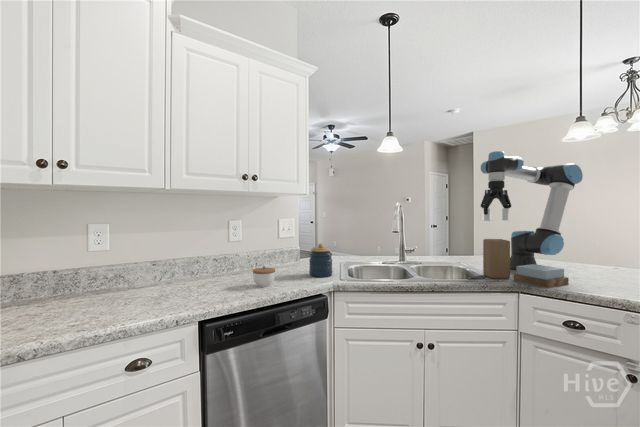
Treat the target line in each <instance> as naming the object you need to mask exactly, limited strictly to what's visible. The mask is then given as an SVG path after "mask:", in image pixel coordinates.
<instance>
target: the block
mask: <svg viewBox="0 0 640 427" xmlns="http://www.w3.org/2000/svg"><path fill="white" fill-rule="evenodd" d="M482 242H483V243H482V244H483V248H482V250H483V252H482V255H483V256H482V257H483V259H482V260H483V261H482V262H483V263H482V264H483V265H482V267H483V268H482V273H483V275H484V276H486V277H487V278H490V279H499V280H500V279H505V280H506V279H508V280H509V279H510V278H511V268H510V257H511V240H508V239H503V238H484V239H483V240H482Z"/></svg>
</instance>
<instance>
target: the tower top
mask: <svg viewBox="0 0 640 427" xmlns="http://www.w3.org/2000/svg"><path fill="white" fill-rule="evenodd" d="M515 271H516V273H515V274H519V275H524V276H529V277H534V278H540V279H545V280H547V279H554V278H561V277H565V268H563V267H555V266H550V265H543V264H538V263H537V264H531V265H523V266H516V269H515Z"/></svg>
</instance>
